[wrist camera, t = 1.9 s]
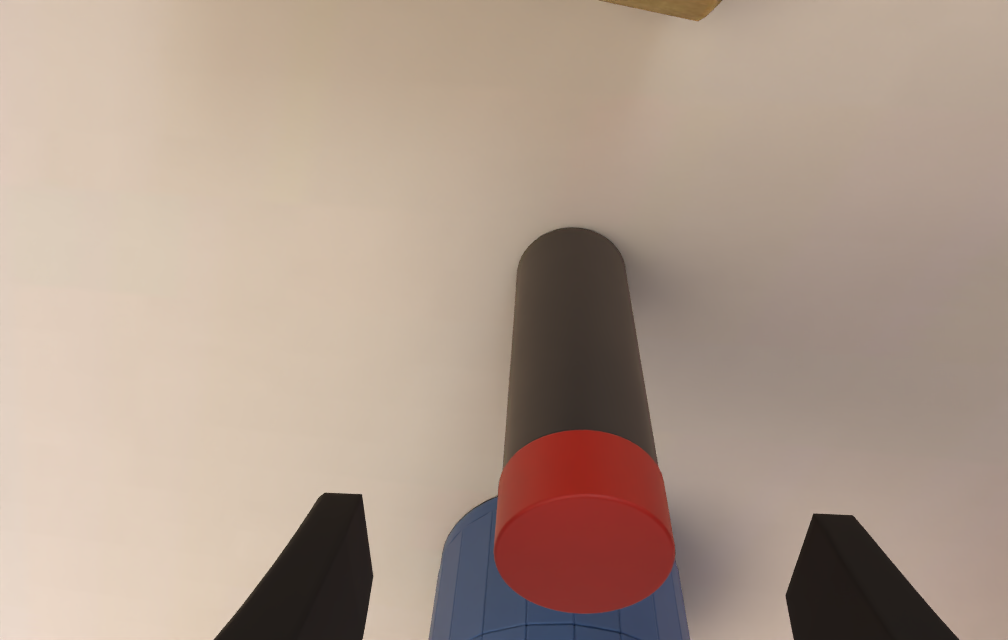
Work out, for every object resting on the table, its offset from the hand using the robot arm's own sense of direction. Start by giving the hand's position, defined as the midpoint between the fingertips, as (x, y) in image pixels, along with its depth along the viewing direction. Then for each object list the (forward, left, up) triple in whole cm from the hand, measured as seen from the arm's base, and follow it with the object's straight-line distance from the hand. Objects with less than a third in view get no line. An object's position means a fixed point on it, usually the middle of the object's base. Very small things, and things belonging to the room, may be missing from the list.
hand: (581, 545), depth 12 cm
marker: (0, 0, -9) cm, 9 cm away
